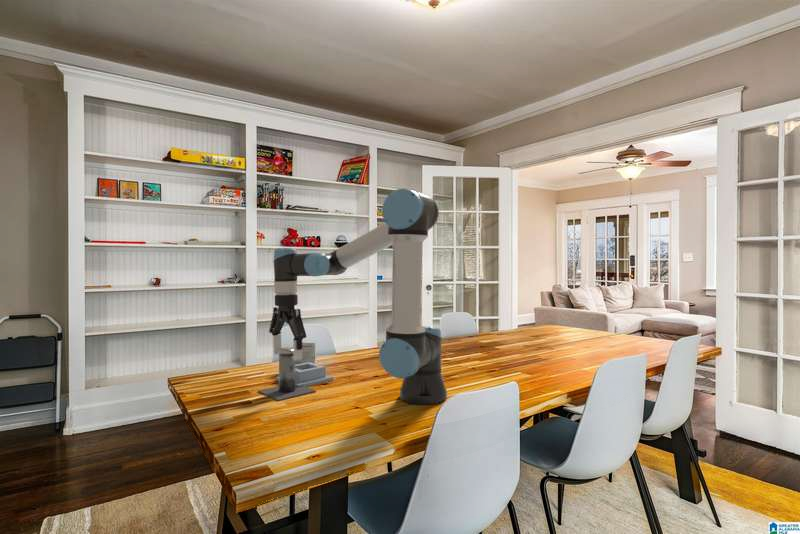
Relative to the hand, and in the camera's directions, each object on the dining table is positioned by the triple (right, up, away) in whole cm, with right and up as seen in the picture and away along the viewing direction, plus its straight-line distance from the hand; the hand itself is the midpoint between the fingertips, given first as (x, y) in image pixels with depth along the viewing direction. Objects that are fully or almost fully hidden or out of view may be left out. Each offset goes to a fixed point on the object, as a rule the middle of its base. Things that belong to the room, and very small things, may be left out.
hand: (287, 356), depth 147 cm
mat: (0, -12, 0) cm, 12 cm away
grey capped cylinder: (0, -11, 0) cm, 12 cm away
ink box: (0, -12, +28) cm, 31 cm away
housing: (+3, -12, +14) cm, 19 cm away
